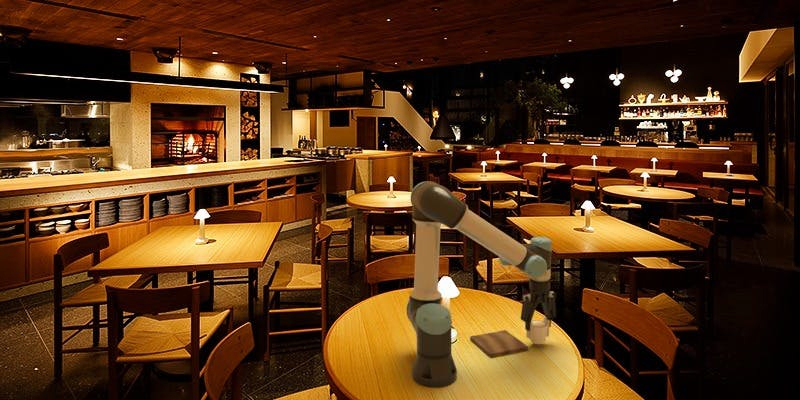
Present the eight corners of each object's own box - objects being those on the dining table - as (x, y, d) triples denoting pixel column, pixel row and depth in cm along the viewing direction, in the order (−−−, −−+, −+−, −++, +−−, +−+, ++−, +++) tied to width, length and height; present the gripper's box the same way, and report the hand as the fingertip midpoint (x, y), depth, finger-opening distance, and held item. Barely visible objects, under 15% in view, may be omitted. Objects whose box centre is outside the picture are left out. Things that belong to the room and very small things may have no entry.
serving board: (490, 357, 170) (490, 354, 170) (470, 340, 185) (470, 336, 185) (528, 350, 175) (528, 346, 175) (505, 333, 190) (505, 330, 190)
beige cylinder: (548, 345, 175) (548, 327, 174) (529, 344, 176) (529, 326, 175) (546, 337, 181) (546, 320, 180) (528, 336, 183) (528, 319, 182)
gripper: (523, 284, 168) (521, 344, 172) (568, 278, 175) (565, 336, 178) (511, 278, 176) (509, 336, 179) (555, 273, 182) (553, 329, 185)
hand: (537, 336), depth 178 cm, fingers closed on beige cylinder, 7 cm apart
